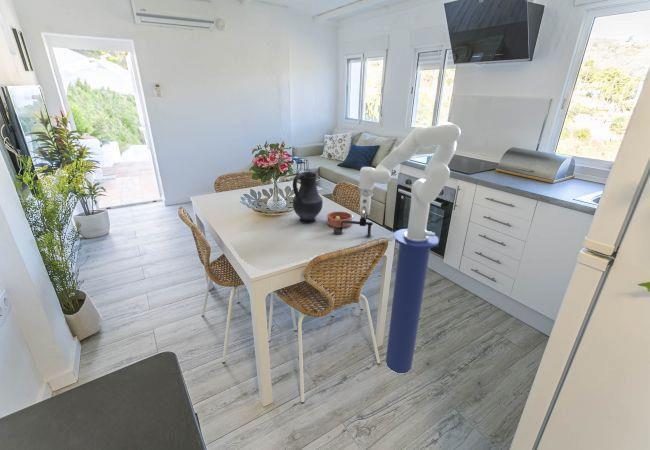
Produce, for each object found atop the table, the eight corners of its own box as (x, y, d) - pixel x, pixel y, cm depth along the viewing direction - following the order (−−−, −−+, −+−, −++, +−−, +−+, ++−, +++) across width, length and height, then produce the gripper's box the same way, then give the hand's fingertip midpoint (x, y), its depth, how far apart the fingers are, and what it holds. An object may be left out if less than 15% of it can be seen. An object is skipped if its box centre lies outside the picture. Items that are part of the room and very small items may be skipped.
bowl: (352, 220, 191) (353, 212, 189) (350, 229, 177) (350, 221, 176) (329, 218, 193) (329, 210, 191) (325, 227, 180) (325, 219, 178)
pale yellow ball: (340, 220, 189) (340, 215, 188) (339, 222, 186) (339, 217, 185) (335, 219, 189) (335, 215, 188) (334, 221, 186) (334, 216, 185)
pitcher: (327, 219, 191) (328, 170, 179) (307, 230, 175) (306, 178, 163) (304, 213, 200) (304, 166, 188) (283, 223, 184) (281, 173, 172)
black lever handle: (371, 234, 171) (372, 221, 169) (371, 237, 167) (372, 224, 164) (334, 231, 175) (334, 218, 172) (332, 234, 171) (333, 221, 168)
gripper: (372, 196, 152) (369, 229, 159) (373, 187, 168) (370, 217, 175) (357, 195, 154) (354, 227, 160) (359, 186, 169) (357, 216, 176)
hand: (363, 222), depth 167 cm, fingers open, 9 cm apart
